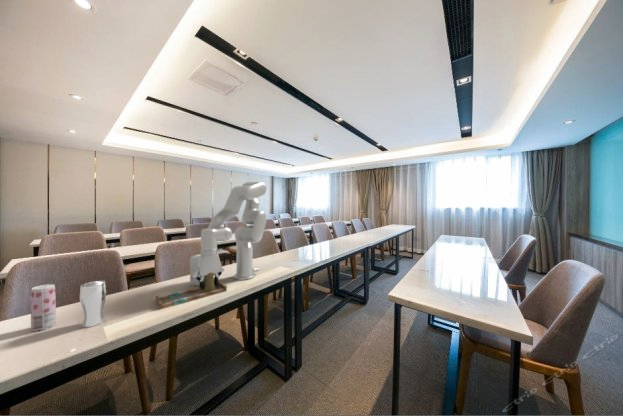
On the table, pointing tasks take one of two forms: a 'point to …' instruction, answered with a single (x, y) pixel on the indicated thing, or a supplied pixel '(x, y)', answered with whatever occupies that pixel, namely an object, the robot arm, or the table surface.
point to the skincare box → (192, 270)
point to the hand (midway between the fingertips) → (209, 286)
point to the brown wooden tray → (183, 300)
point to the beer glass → (92, 302)
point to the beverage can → (43, 307)
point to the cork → (209, 283)
